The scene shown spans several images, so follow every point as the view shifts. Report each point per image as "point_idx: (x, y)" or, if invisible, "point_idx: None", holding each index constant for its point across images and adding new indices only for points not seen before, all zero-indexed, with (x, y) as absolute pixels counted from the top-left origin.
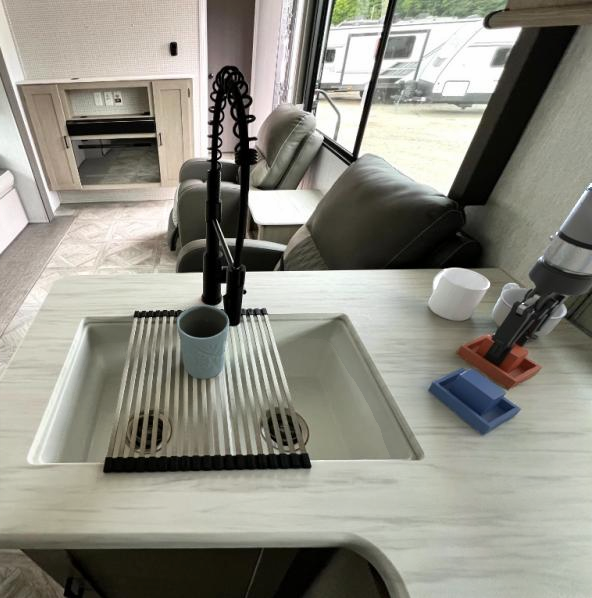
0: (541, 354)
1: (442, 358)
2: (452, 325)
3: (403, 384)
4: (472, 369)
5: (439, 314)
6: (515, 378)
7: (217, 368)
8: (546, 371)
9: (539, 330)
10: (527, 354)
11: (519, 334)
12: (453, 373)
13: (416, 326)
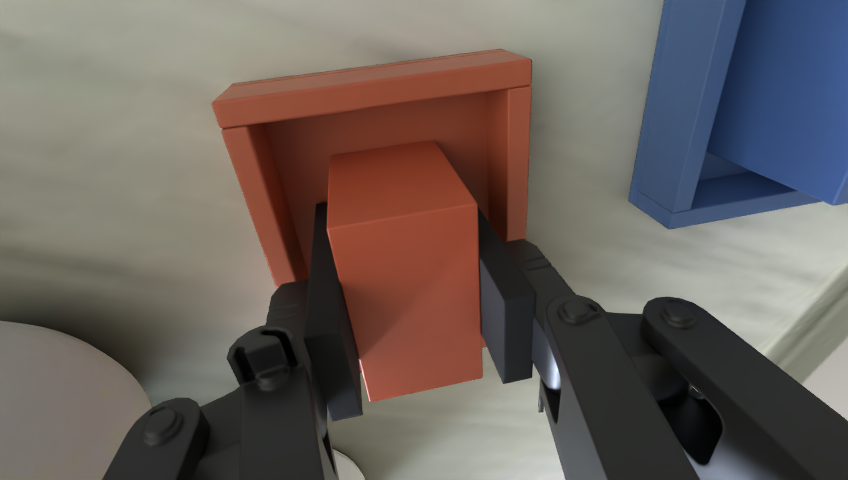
0: (21, 205)
1: (576, 290)
2: (351, 424)
3: (836, 217)
4: (842, 197)
5: (362, 475)
6: (508, 80)
7: None
8: (116, 85)
9: (173, 420)
10: (332, 213)
11: (671, 432)
12: (746, 209)
13: (497, 431)
